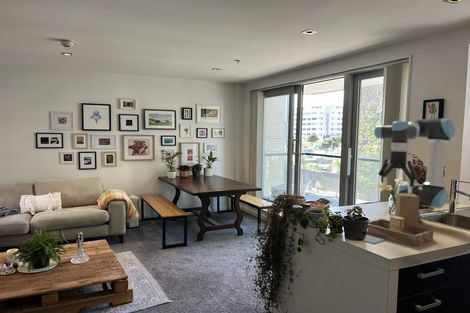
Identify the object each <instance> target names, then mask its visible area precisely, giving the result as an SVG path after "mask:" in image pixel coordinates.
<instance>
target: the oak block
mask: <svg viewBox="0 0 470 313" xmlns="http://www.w3.org/2000/svg"><path fill="white" fill-rule="evenodd" d="M389 221H390V227H389V229H390V230H394V231H398V232H402V233H403V228H404V218H402V217H397V216H395V215H394V216H390V217H389Z"/></svg>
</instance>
